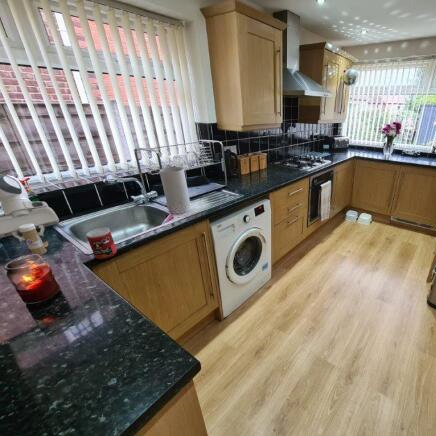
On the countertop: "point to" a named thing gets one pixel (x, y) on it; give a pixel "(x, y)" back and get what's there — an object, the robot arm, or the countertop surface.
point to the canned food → (101, 243)
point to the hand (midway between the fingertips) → (32, 238)
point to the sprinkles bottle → (32, 238)
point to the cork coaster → (45, 244)
